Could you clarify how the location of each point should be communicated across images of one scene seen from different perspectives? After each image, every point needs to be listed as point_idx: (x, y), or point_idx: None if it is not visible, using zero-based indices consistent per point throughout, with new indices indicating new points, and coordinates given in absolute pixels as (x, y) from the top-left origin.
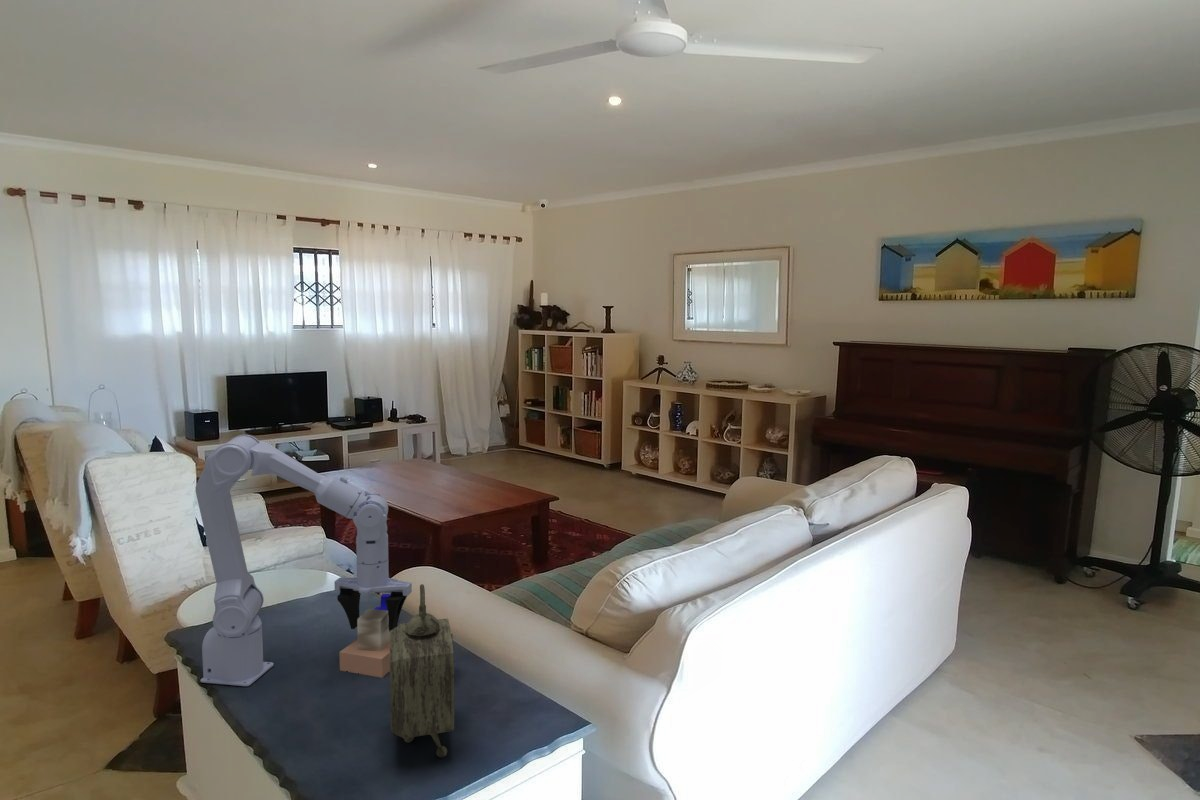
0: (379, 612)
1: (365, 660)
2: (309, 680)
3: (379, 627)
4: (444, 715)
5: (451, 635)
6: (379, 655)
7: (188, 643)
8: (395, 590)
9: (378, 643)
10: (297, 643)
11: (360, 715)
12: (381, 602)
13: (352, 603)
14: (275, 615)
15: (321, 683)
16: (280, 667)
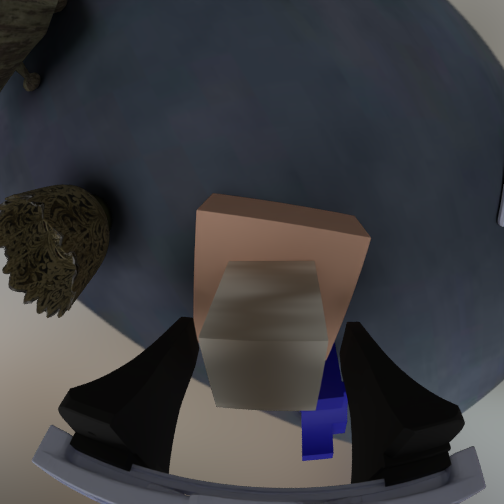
0: (250, 396)
1: (265, 214)
2: (411, 155)
3: (213, 316)
4: None
5: (11, 283)
6: (216, 231)
7: None
8: (111, 472)
9: (232, 275)
10: (470, 315)
11: (181, 18)
12: (330, 441)
13: (375, 415)
14: (493, 375)
15: (374, 140)
16: (485, 216)
